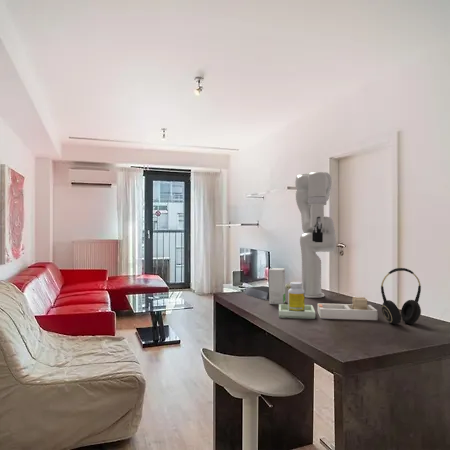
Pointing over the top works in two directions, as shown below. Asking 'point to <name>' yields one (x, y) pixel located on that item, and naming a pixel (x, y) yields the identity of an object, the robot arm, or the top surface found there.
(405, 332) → the top surface
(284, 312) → the tray
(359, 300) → the birch block
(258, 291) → the external hard drive
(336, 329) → the top surface
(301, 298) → the pill bottle
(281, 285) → the skincare box
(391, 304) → the headphones
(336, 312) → the holder
